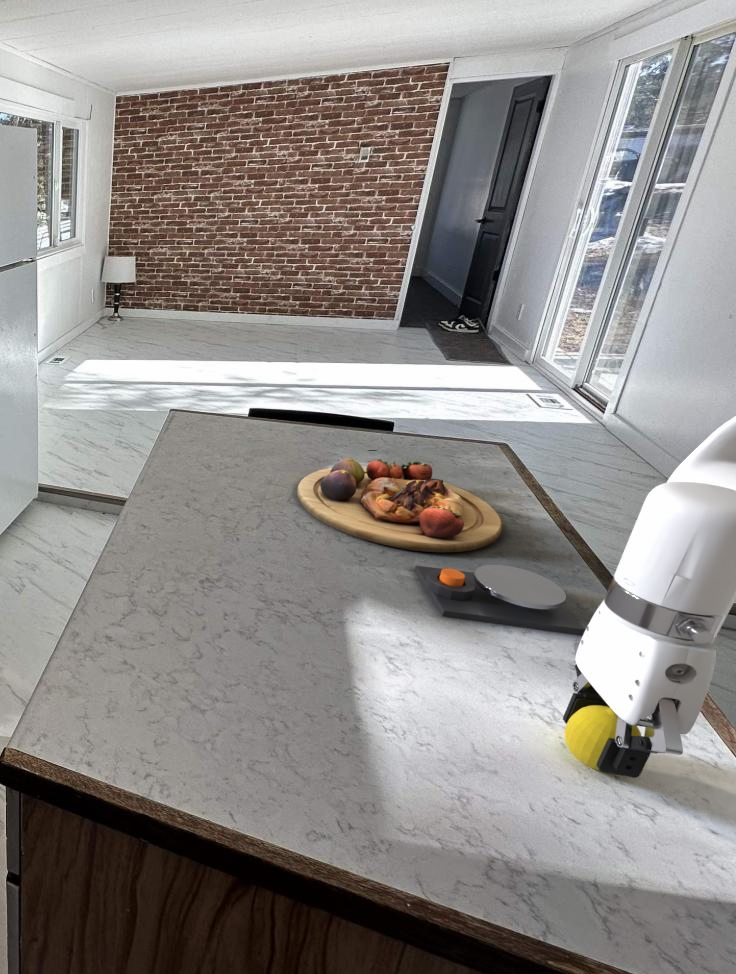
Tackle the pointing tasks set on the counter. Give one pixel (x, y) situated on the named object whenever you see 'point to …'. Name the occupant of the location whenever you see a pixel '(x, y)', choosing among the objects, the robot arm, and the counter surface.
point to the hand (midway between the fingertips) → (598, 746)
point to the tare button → (452, 577)
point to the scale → (491, 605)
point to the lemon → (591, 732)
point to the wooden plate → (399, 507)
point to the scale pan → (519, 587)
